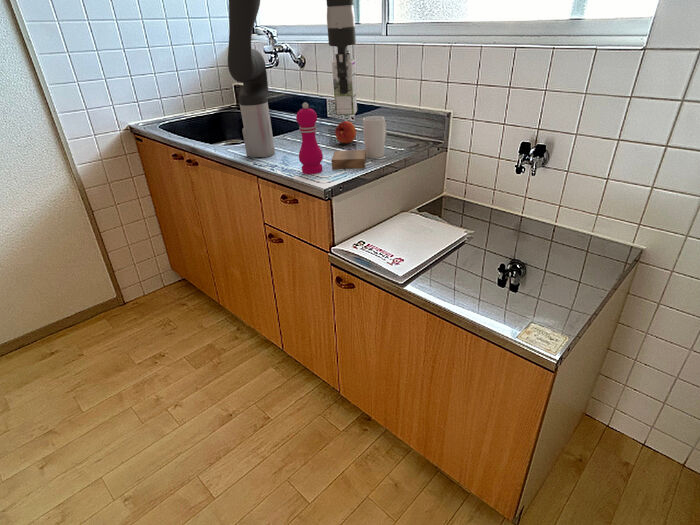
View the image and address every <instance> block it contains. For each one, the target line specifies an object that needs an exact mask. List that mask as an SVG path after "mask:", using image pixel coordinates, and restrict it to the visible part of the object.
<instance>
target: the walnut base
mask: <svg viewBox="0 0 700 525" xmlns="http://www.w3.org/2000/svg"><path fill="white" fill-rule="evenodd" d="M366 161H367V157H366V150H365V149H352V150H351V149H347V150H334V151H333V155H332V158H331V169H332V170H333V171H334V170H357V169H358V170H359V169H361V170H362V169H365V168H366Z"/></svg>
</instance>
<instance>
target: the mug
mask: <svg viewBox="0 0 700 525" xmlns="http://www.w3.org/2000/svg"><path fill="white" fill-rule="evenodd" d="M362 124H363V125H362V127H363V139H364V140H363V143H364V150H366V159H372V160H373V159H381V158H383V157H384V156H385V144H386V138H387V125H386V121H385V117H384V116H381V115H380V116H379V115H378V116H377V115H372V116H366V117H363V118H362Z"/></svg>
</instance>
